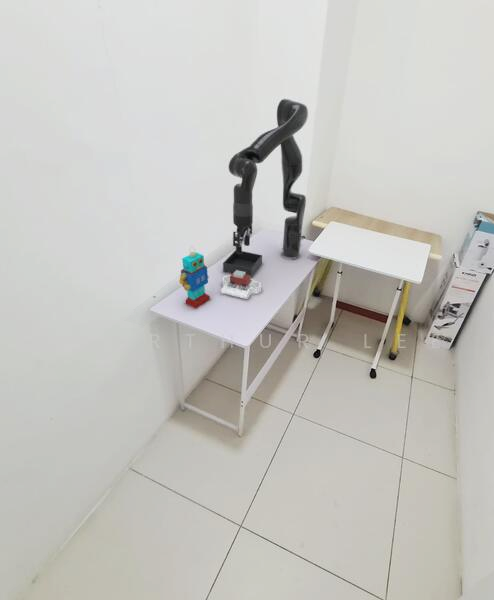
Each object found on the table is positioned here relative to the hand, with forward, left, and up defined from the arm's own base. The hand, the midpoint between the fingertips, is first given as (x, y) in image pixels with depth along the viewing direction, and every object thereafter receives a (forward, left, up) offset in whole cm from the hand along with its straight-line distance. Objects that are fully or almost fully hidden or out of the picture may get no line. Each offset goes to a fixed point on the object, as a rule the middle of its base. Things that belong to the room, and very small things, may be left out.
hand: (243, 249), depth 138 cm
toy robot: (+16, -14, -20) cm, 29 cm away
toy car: (+1, -1, -16) cm, 16 cm away
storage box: (-17, -7, -20) cm, 27 cm away
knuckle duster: (+1, -1, -20) cm, 20 cm away
